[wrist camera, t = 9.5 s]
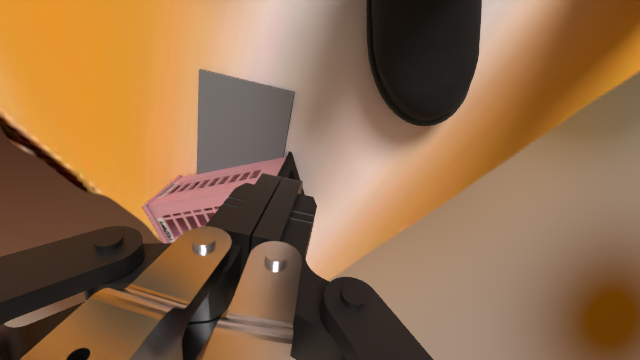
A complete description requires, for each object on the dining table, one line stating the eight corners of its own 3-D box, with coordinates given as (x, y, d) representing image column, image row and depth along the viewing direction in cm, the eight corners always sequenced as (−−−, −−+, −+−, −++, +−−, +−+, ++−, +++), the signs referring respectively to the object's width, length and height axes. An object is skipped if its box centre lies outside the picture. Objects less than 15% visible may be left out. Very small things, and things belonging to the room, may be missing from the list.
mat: (294, 92, 36) (294, 92, 36) (274, 209, 45) (273, 211, 44) (200, 69, 36) (199, 69, 36) (198, 191, 45) (196, 192, 44)
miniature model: (310, 204, 44) (195, 226, 48) (291, 148, 40) (169, 176, 45) (300, 242, 36) (162, 263, 40) (275, 175, 32) (127, 206, 36)
